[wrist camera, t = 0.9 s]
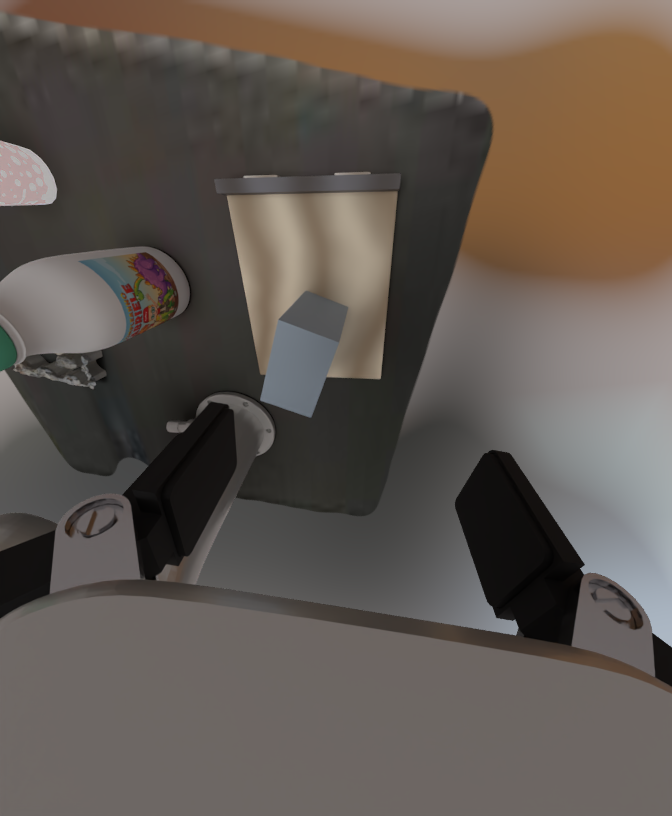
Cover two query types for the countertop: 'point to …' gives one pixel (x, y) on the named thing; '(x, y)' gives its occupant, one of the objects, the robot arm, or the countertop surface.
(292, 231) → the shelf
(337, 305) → the carton
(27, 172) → the beverage cup
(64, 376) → the egg carton
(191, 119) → the countertop surface
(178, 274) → the milk bottle
